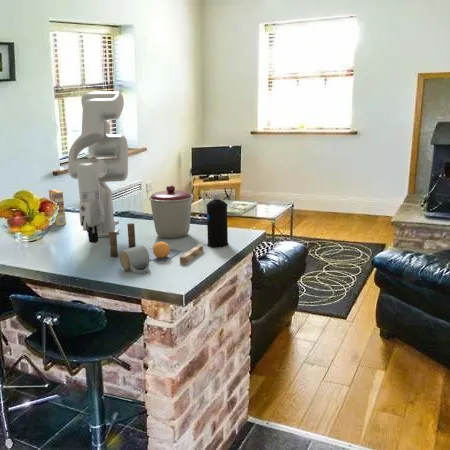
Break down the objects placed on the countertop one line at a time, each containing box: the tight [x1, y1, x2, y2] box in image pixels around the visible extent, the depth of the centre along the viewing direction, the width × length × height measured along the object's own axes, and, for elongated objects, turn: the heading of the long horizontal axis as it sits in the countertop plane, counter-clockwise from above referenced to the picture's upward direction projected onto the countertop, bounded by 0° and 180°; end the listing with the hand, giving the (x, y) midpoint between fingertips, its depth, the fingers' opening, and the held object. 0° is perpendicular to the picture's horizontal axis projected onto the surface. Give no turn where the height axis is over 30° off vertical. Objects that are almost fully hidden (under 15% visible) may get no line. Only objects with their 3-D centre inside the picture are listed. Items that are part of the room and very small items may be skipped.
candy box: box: [48, 188, 67, 227], centre depth 254 cm, size 9×4×15 cm, turn 33°
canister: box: [148, 184, 194, 240], centre depth 228 cm, size 18×18×21 cm
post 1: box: [108, 232, 119, 258], centre depth 203 cm, size 3×3×9 cm
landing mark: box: [146, 246, 183, 262], centre depth 205 cm, size 14×14×1 cm
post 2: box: [127, 222, 137, 248], centre depth 215 cm, size 3×3×9 cm
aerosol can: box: [205, 193, 229, 249], centre depth 213 cm, size 8×8×20 cm
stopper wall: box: [179, 244, 204, 265], centre depth 200 cm, size 16×2×2 cm, turn 160°
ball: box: [152, 241, 171, 258], centre depth 200 cm, size 6×6×6 cm
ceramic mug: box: [118, 244, 151, 275], centre depth 187 cm, size 11×8×8 cm
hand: (93, 242), depth 215 cm, fingers closed
